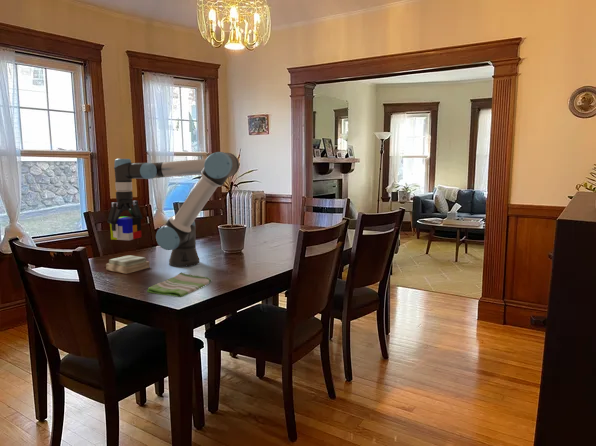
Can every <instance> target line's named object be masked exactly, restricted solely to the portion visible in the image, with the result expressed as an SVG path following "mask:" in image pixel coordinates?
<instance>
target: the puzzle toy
mask: <svg viewBox="0 0 596 446" xmlns="http://www.w3.org/2000/svg"><path fill="white" fill-rule="evenodd" d="M116 224H118V238H115V237H113V231H112V225H111V224H110V223H109V227H110V228H109V229H110V240H111V241H112V240H115V241H117V240H118V241H132V240H135V239H139V238H142V219H141V217H132V216H124V215H123V216H120V217H119V219H118V221H117V223H116Z"/></svg>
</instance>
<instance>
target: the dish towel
mask: <svg viewBox="0 0 596 446" xmlns="http://www.w3.org/2000/svg"><path fill="white" fill-rule="evenodd" d="M210 282H211V283H212V278H210V277H208V276H203V275H202V276H201V275H197V274H196V275H195V274H190V273H185V272H180V273H178V274H177V275H175V276H173V277H170V278H168V279H166V280H165V281H161V282H158V283H156V284H153V285H151V286H149V287H147V290H146V292H147V293H151V294H158V295H164V296H171V297H172V296H173V297H180V298H182V297H184V296H186V295H188V294H191V293H193V292H195V291H198V290H199V288H200V289H201V287H202V288H204V287H205V285H206V286H208V285H209V284H211V283H210ZM203 286H204V287H203Z"/></svg>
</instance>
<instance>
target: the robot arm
mask: <svg viewBox="0 0 596 446" xmlns="http://www.w3.org/2000/svg"><path fill="white" fill-rule="evenodd" d="M113 169H114V179H115V180H114V181H115V182H114V183H115V190H116V192H115V199H116V202H111V203H110V211H109V213H108V218H107V221H106V222H107V224H109V225H110V224H111V225H112V231H113V237H115V238H118V224H116V223H117V221H118V219H119V217H121V214H122V213H123V212H124V211H128V212H129V214H130V216H131V217H141V220H143V214H142V213H141V210H140V208H139V207H140V206H139V201H138V200H133V199H134V195H133V193H134V192H133V179H137V180H139V179H140V180H144V179H145V180H153V179H160V178H171V177H172V178H173V177H174V178H175V177H187V176H200V178H199V180H198V181H197V183H196V184H195V186H194V187H193V189H192V190H191V192H190V193H189V195H188V196H187V198H186V199H185V201H184V202H183V203H182V205H181V206H180V208H179V209H178V211H177V212H176V214H175V215H174V216H170V217H169V218H168V219H167V221H166V223H165V224H164V225H163V226H161V227H160V228H158V229H157V231H156V234H155V239H156V243H157V245H158V246H159V248H161V249H163V250H166V251H171V252H170V253H171V254H170V256H169V259H168V264H169V266H171V267H178V268H181V267H182V268H185V267H186V268H187V267H194V266H197V265H199V264H200V257H199V254H198V251H197V248H196V245H197V244H196V243H197V242H196V227H197V226H196V221H195V220H196V219H197V217H198V216H199V214H200V213H201V212H202V210H203V208H204V207H205V205H206V204H207V203H208V201H209V200H210V199H211V197H212V196H213V194H214V193H215V191H216V190H217V188H218V187H222V186H223V185H224V184H225V183H226V181H227V180H228V179H229V178H231V177H233V176H234V175H236V174H237V173H238V172H239V169H240V161H239V159H238V157H237V156H236V155H235V154H232V153H231V152H223V151H216V152H213V153H211V154H209V155H208V156H207V157H206V158H200V159H189V160H188V159H186V160H174V161H165V162H164V161H163V162H132V160H131V158H116V159H114V167H113Z"/></svg>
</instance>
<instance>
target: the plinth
mask: <svg viewBox="0 0 596 446" xmlns="http://www.w3.org/2000/svg"><path fill="white" fill-rule="evenodd" d="M149 268H150V261H148V260H147V257H144V256H137V255H130V254H128V255H123V256H120V257H119V256H118V257H115V258H110V259H108V263H105V270H106V271H111V272H116V273H122V274H131V273H134V272H138V271H142V270H146V269H149Z"/></svg>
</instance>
